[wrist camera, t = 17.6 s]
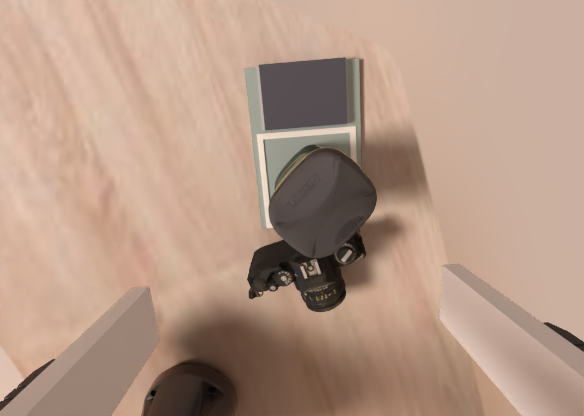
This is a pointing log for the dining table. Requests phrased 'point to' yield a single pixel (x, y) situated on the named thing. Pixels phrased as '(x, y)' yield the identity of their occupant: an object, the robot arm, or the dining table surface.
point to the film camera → (304, 272)
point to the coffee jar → (320, 200)
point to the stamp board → (298, 137)
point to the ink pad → (303, 93)
